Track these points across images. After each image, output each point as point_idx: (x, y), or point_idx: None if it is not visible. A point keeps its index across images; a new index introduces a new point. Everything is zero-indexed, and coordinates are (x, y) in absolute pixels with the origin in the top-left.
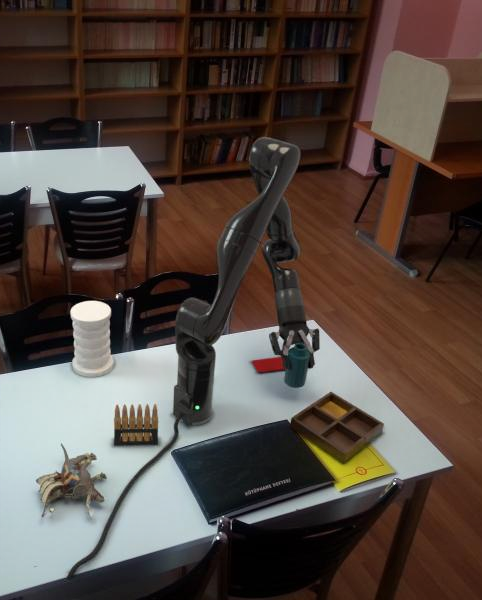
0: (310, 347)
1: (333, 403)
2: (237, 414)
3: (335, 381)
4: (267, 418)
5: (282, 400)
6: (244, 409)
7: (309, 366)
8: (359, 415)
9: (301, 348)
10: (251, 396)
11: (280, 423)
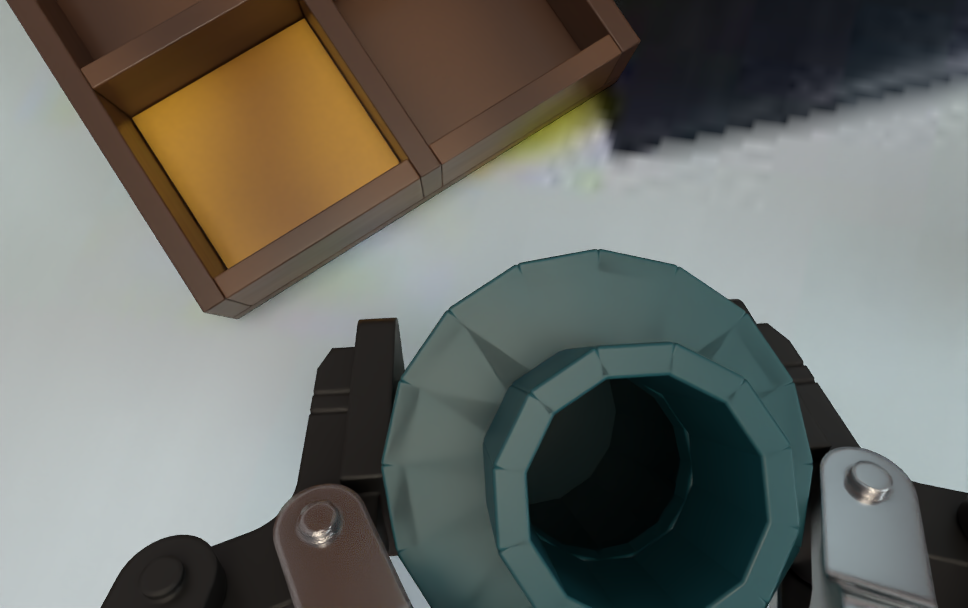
0: (326, 592)
1: (224, 251)
2: (935, 245)
3: (87, 549)
4: (743, 181)
5: None
6: (880, 289)
7: (401, 365)
8: (82, 54)
9: (550, 555)
10: None
11: (668, 123)
